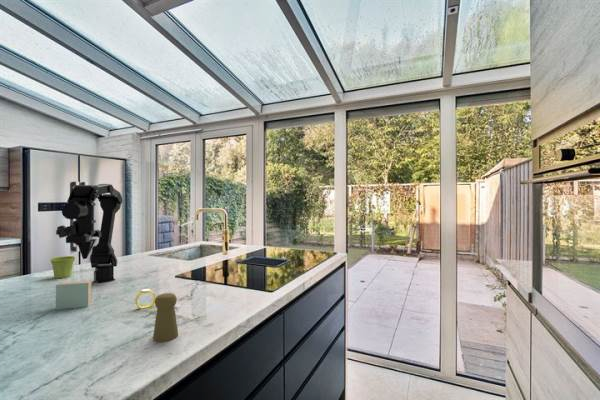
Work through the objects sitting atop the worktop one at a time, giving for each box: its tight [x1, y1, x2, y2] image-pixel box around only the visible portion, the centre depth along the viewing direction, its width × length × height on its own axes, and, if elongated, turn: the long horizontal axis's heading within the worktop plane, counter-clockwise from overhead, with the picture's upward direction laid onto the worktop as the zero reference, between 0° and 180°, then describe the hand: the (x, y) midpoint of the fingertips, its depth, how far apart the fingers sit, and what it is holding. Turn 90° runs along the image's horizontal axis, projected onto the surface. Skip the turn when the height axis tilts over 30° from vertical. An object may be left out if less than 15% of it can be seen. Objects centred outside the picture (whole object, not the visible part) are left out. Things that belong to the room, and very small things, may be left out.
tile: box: [55, 280, 92, 310], centre depth 102 cm, size 3×9×8 cm, turn 108°
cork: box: [152, 292, 179, 343], centre depth 80 cm, size 6×6×11 cm
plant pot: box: [49, 255, 77, 279], centre depth 141 cm, size 9×9×9 cm
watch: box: [134, 288, 157, 310], centre depth 101 cm, size 6×3×6 cm, turn 127°
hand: (84, 258), depth 117 cm, fingers closed
